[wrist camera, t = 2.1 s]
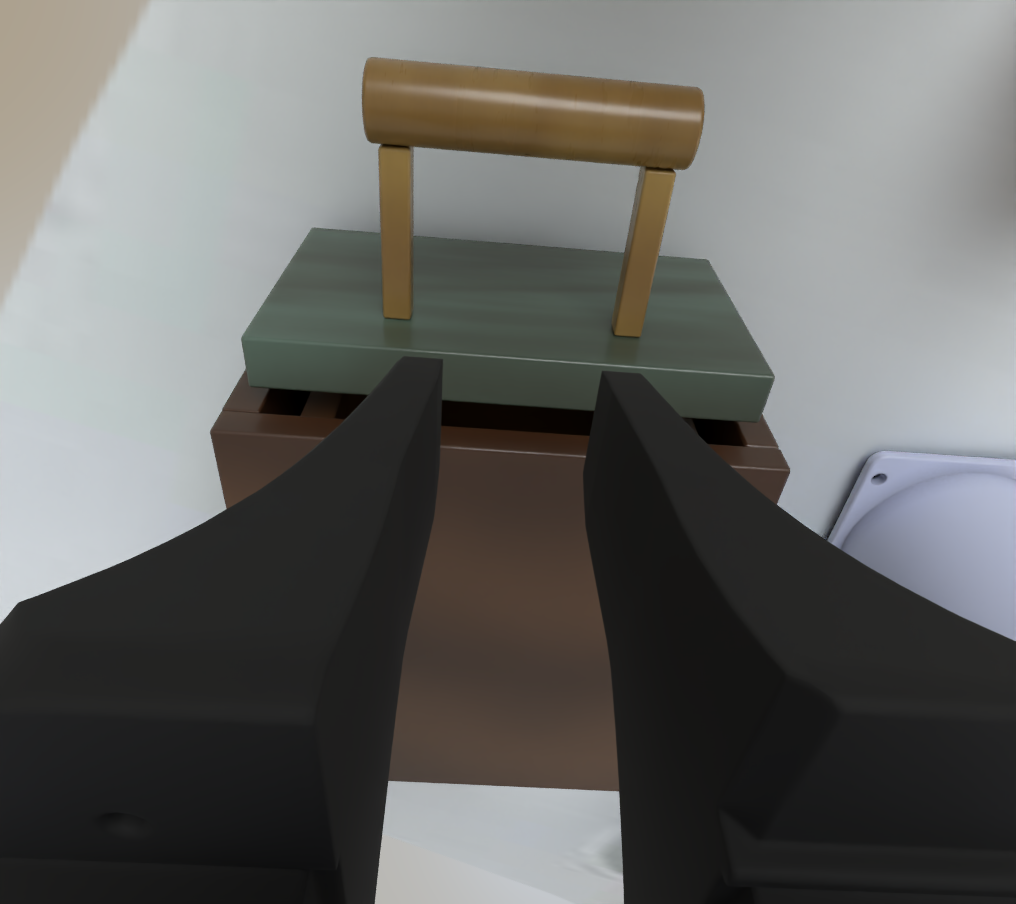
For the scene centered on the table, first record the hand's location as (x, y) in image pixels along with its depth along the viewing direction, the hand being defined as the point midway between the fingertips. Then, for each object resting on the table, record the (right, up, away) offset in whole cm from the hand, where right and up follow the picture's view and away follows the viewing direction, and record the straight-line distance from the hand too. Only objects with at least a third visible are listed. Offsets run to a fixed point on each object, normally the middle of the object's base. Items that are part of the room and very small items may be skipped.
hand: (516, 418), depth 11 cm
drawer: (0, +2, +10) cm, 11 cm away
